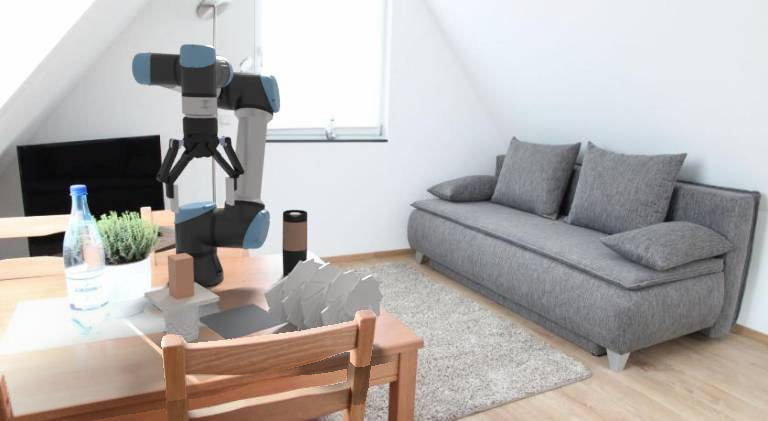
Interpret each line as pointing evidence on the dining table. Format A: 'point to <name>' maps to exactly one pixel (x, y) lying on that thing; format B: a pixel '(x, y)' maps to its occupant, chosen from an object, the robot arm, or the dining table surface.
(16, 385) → the dining table surface
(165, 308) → the lid
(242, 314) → the mat
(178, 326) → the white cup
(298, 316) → the spiral staircase
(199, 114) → the robot arm
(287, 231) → the travel mug
